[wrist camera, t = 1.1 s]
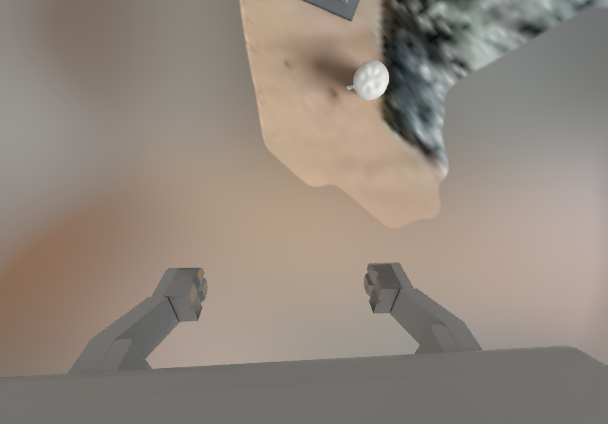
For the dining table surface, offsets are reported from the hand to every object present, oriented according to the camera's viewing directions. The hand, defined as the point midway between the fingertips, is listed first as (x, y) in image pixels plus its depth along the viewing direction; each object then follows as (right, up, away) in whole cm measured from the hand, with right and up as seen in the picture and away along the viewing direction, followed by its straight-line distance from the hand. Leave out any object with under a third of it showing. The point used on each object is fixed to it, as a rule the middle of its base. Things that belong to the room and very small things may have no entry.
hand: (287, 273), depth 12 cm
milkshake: (+11, +24, +27) cm, 37 cm away
